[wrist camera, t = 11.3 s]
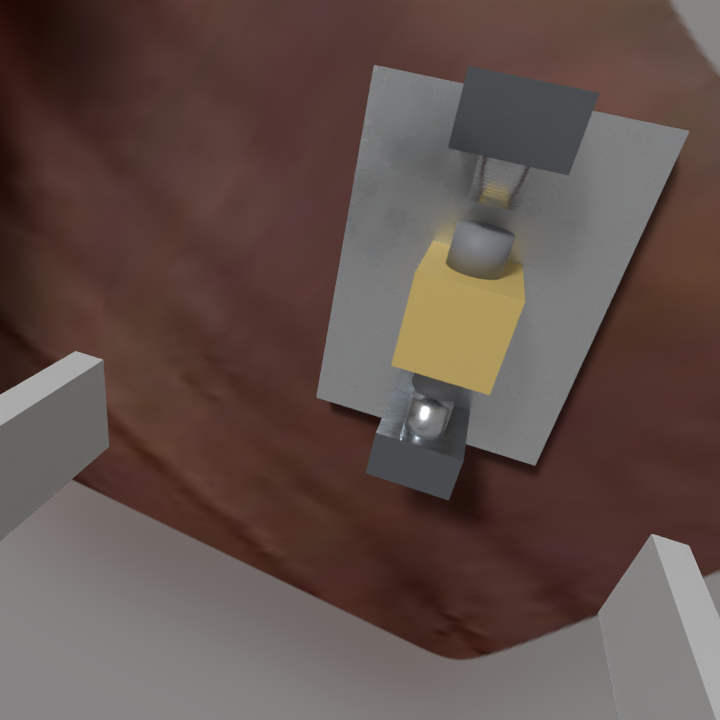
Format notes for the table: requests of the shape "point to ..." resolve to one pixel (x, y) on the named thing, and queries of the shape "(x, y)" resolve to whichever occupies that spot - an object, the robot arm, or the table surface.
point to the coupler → (461, 312)
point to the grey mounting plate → (530, 248)
